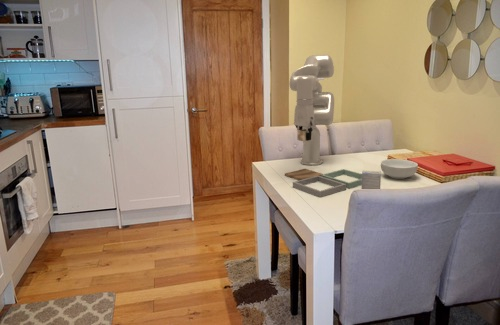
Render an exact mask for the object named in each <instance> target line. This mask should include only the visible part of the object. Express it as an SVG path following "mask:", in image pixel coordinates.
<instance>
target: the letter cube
mask: <svg viewBox="0 0 500 325" xmlns="http://www.w3.org/2000/svg"><path fill="white" fill-rule="evenodd" d="M296 131H297V132H296V133H297V141H300V142H303V141H306V132H307V131H306V129H302V130H297V129H296ZM311 140H312V132H311ZM308 141H309V140H308Z"/></svg>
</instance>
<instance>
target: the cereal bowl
mask: <svg viewBox="0 0 500 325" xmlns="http://www.w3.org/2000/svg"><path fill="white" fill-rule="evenodd" d="M418 166H419V165H418V163H417V162H415V161H412V160H407V159H402V158H401V159H399V158H387V159H384V160H381V162H380V168H381V171H382V172H383V173H384V175H387V176H389V177H390V178H392V179H396V180H398V179H399V180H405V179H406V178H409V177H413V176H414V175H415V174H416V173H417V172H418Z"/></svg>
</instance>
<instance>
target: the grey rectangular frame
mask: <svg viewBox="0 0 500 325" xmlns="http://www.w3.org/2000/svg"><path fill="white" fill-rule="evenodd" d="M316 182H317V183H318V182H319V183H321V184H325V185H327V186H331V187H329V188H326V189H325V188H324V189H322V190H320V189H317V188H313V187H311V186H308V185H309V184H314V183H316ZM292 188H293V189H297V190H299V191H302V192H305V193H308V194H309V195H312V196H316V197H319V198H322V197H326V196H329V195H332V194H335V193H339V192H342V191H345V190H347V188H346V184H344V183H340V182H337V181H334V180H331V179H327V178H324V177H321V176H314V177H311V178H307V179H303V180H296V181H293V182H292Z"/></svg>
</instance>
